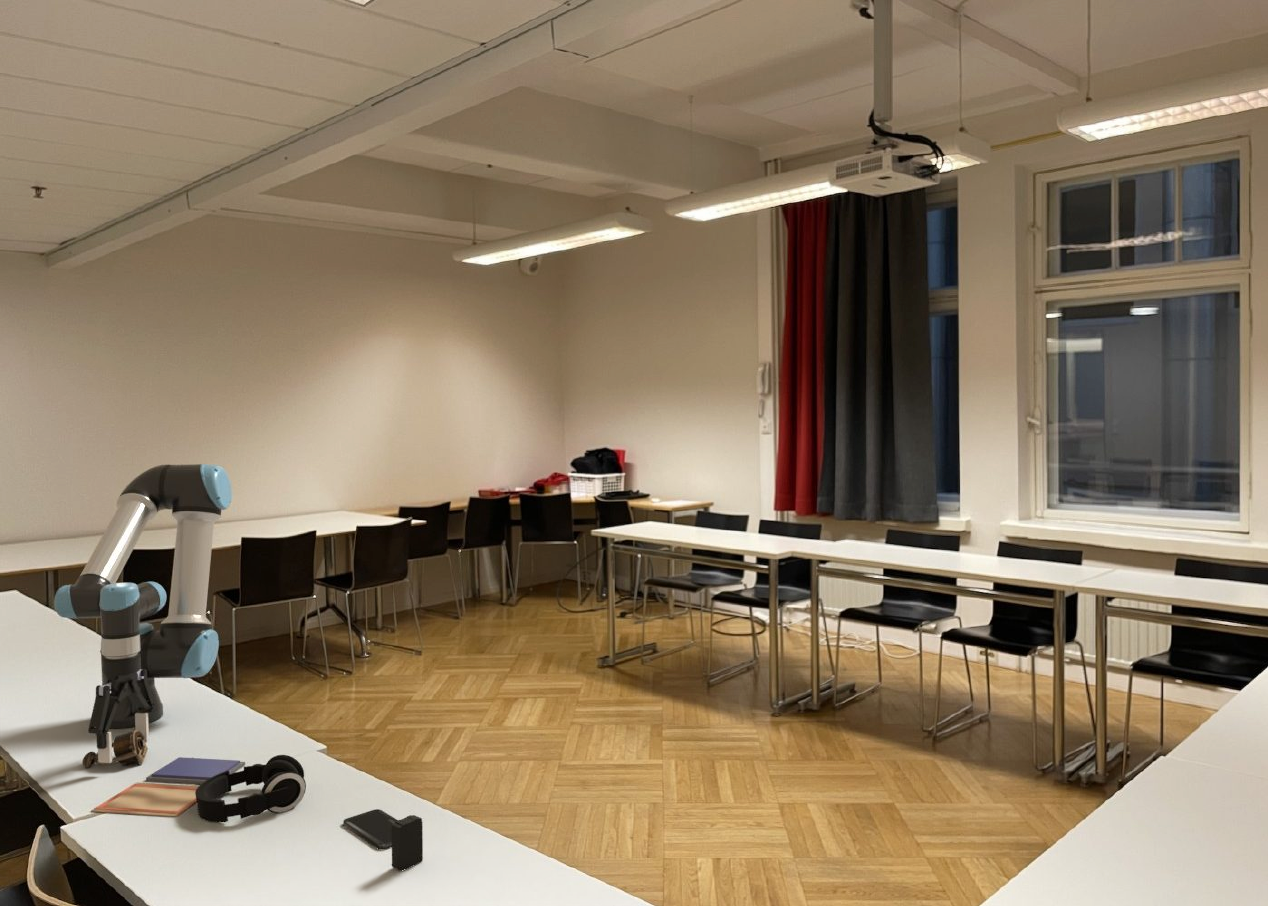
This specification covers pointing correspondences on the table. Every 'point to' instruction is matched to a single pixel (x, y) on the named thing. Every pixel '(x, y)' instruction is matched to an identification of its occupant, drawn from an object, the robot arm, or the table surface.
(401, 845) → the ink cartridge
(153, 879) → the table surface
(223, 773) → the headphones
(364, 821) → the phone
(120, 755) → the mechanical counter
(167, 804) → the print sheet
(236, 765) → the ink pad
